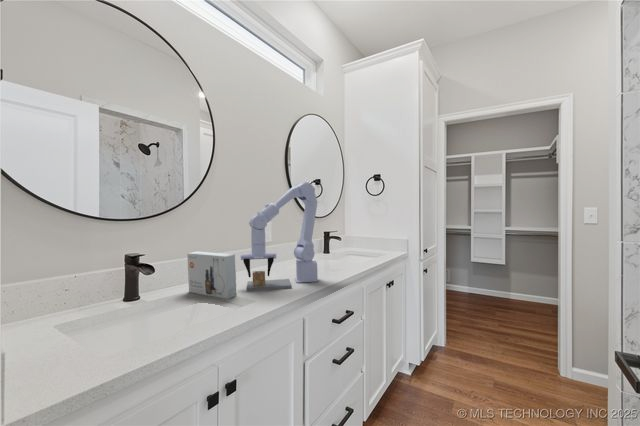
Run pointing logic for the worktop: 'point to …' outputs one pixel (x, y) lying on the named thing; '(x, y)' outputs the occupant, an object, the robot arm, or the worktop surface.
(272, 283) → the grey flat block
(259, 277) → the oak bead
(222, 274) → the skincare box
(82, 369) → the worktop surface
